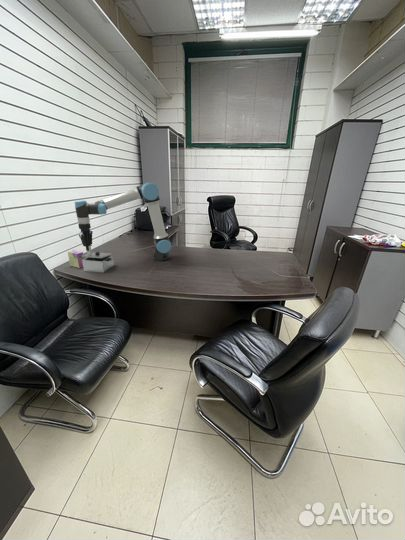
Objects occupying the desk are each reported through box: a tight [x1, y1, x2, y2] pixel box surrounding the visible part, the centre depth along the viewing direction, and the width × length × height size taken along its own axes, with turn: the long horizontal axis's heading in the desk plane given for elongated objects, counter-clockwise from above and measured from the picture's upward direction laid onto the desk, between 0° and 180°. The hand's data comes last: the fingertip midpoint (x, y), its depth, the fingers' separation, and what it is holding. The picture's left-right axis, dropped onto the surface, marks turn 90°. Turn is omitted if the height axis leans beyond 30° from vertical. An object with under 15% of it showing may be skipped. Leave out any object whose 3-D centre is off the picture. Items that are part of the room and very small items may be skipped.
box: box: [67, 249, 85, 269], centre depth 173 cm, size 10×6×12 cm, turn 65°
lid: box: [82, 251, 113, 258], centre depth 168 cm, size 16×15×3 cm
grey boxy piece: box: [82, 254, 115, 274], centre depth 171 cm, size 20×15×9 cm
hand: (89, 254), depth 165 cm, fingers closed
